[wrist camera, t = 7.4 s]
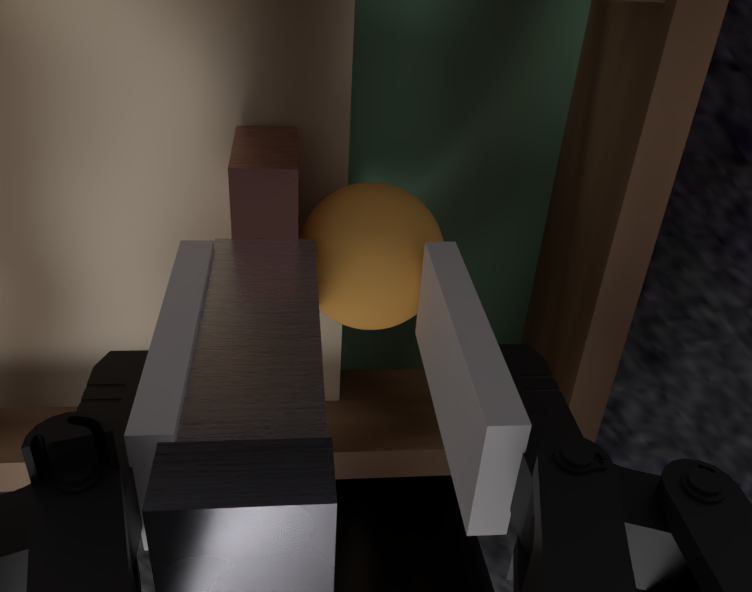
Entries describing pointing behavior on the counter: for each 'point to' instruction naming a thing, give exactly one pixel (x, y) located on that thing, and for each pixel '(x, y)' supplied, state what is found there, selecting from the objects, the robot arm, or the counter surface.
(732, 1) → the counter surface
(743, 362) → the counter surface
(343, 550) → the water bottle
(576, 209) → the lane
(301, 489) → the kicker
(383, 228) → the ball
